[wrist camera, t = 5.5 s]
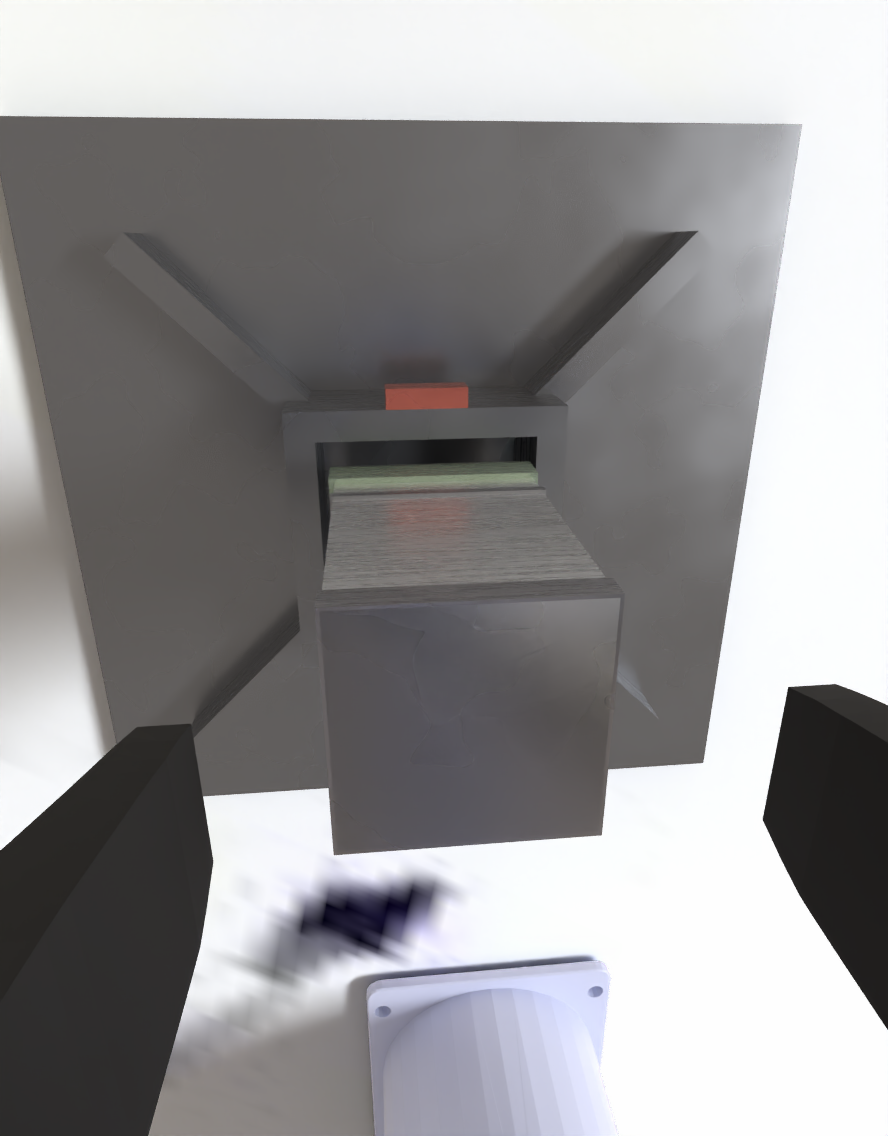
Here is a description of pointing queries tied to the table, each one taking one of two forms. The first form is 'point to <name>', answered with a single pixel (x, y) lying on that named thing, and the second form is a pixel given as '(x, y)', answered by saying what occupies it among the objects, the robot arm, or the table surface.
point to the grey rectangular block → (462, 660)
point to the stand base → (390, 381)
